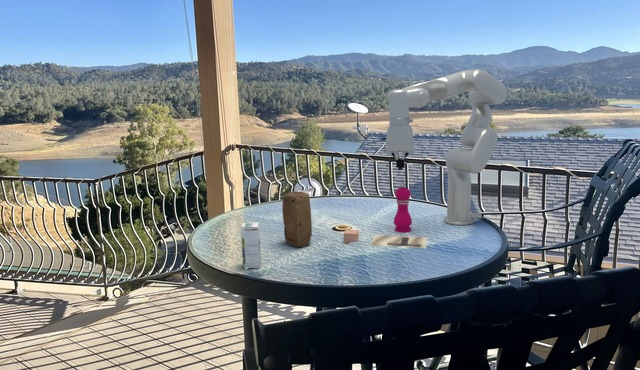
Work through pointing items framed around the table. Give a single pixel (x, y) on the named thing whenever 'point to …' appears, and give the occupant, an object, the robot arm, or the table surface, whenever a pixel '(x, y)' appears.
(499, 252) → the table surface
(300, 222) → the block
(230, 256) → the table surface
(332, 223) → the table surface
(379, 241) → the board
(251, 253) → the syrup box
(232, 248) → the table surface
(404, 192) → the pepper mill
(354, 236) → the block
